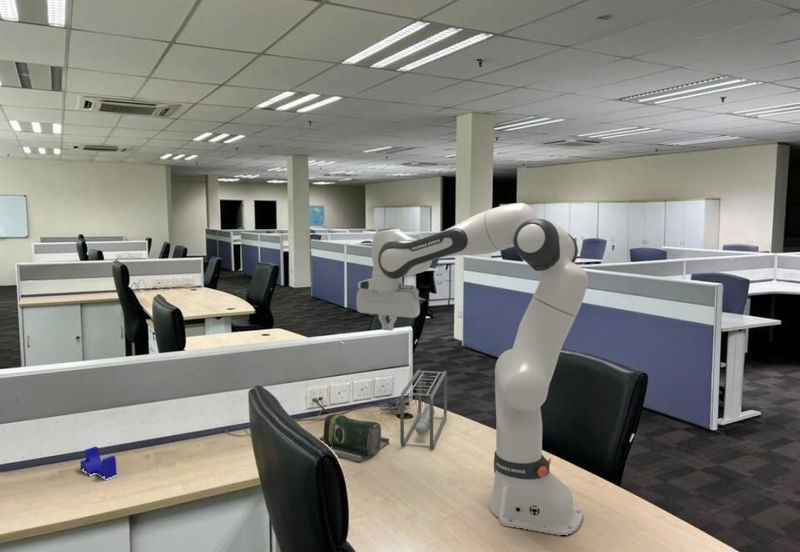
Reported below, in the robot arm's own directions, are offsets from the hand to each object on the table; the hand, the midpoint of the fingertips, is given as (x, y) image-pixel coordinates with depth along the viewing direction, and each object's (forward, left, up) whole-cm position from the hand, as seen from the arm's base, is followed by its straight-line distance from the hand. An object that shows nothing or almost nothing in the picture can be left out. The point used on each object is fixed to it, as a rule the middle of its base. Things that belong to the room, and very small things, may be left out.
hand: (387, 329), depth 169 cm
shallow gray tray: (+15, 0, -39) cm, 42 cm away
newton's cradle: (0, -23, -39) cm, 46 cm away
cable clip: (+66, +51, -40) cm, 92 cm away
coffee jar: (+3, +2, -34) cm, 34 cm away
